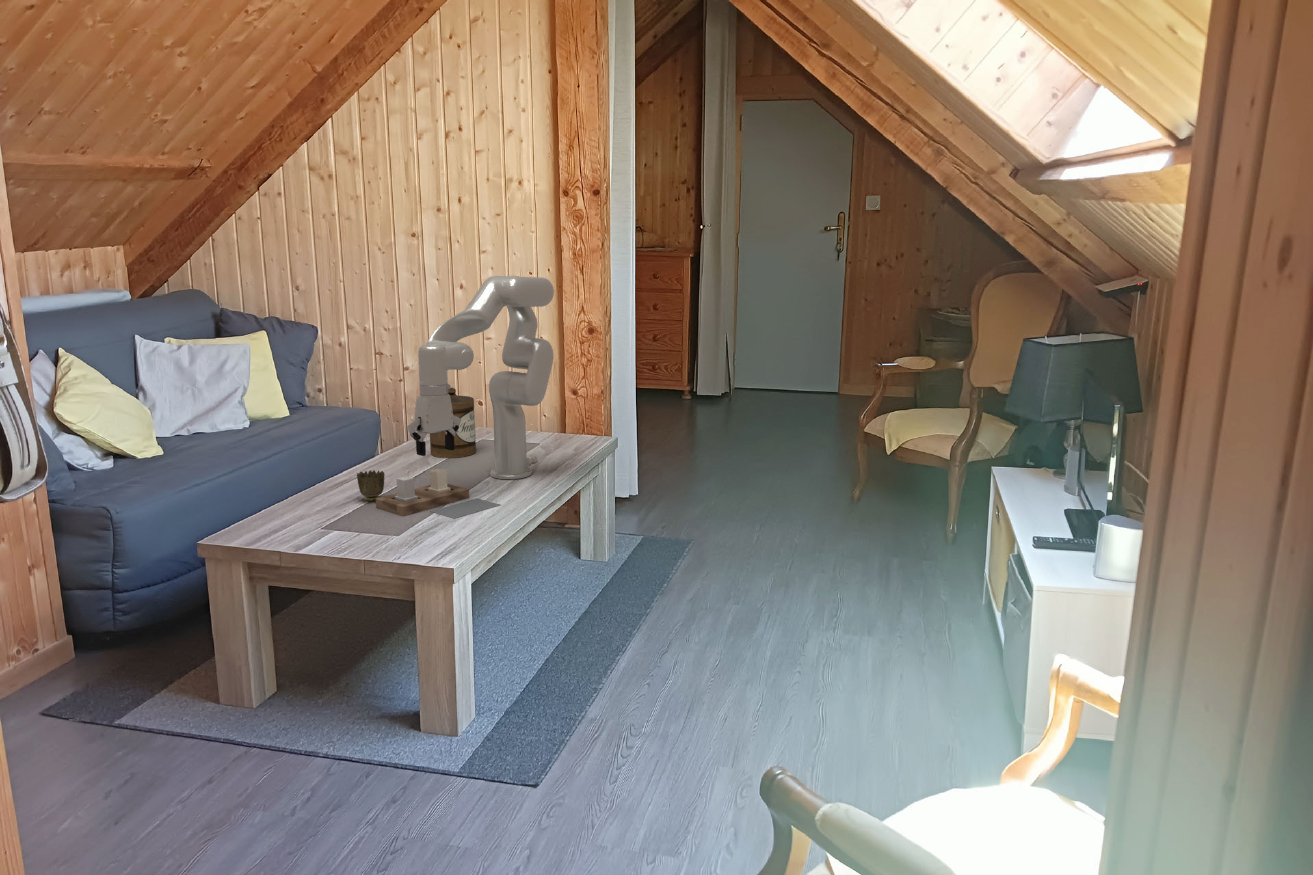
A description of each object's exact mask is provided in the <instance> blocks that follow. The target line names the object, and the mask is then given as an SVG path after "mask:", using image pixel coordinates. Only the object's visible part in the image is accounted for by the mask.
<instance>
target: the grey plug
mask: <svg viewBox="0 0 1313 875" xmlns="http://www.w3.org/2000/svg"><path fill="white" fill-rule="evenodd" d="M414 489H415V479H414V477H410V476H407V475H406V476H402V477H397V478H396V490H397V491H396V493H397V494H398V496H395V500H398V501H401V502H404V503H406V502H410V501H413V500H417V499H418V496H415V490H414Z"/></svg>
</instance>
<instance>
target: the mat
mask: <svg viewBox="0 0 1313 875" xmlns="http://www.w3.org/2000/svg"><path fill="white" fill-rule="evenodd" d="M500 506H501V504H500V503H497V502H492V501H489V500H486V499H481V498H478V497H477V498H472V499H469V500H464V501H462V502H459V503H458V502H457V503H455V504H449V505H447V506H443V507H440V508H436V509H433V510H432V509H431V510H430V513H433V514H436V515H440V516H444V517H447V518H451V519H452V520H453V519H454V520H455V519H458V518H462V517H466V516H470V515H473V514H476V513H479V512H483V511H486V510H489V509H493V508H496V507H500Z"/></svg>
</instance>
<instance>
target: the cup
mask: <svg viewBox="0 0 1313 875" xmlns="http://www.w3.org/2000/svg"><path fill="white" fill-rule="evenodd" d="M385 477H386V476H385V472H384V471H383V470H381V471H380V470H379V469H378V471H375V469H374V470H369V471H368V472H367V470H365V471H364V472H362V471H359V472H357V473H356V479H357V485H358V490H359V492H360V494H361V495H362V496H364V497H365V501H366V502H376V498H380V495H381V494H383V492H384V487H385Z"/></svg>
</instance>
